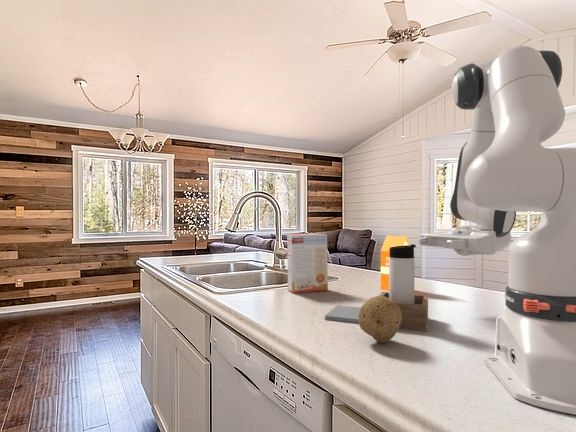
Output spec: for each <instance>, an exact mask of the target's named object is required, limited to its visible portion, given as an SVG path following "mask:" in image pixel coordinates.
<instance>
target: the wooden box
mask: <svg viewBox="0 0 576 432" xmlns="http://www.w3.org/2000/svg"><path fill="white" fill-rule="evenodd" d="M378 296H384V297H388V298H389V291H387V292H385V291H381V293H380V294H379V295H378ZM395 303H396V304H397V305H398V306H399V308H400V310H401V314H402V322H401V325H400V327H399V329H403V330H410V331H411V330H413V331H421V332H427V329H428V328H427V327H428V322H429V295H426V294H425V295H423V294H422V295H421V294H414V304H409V303H398V302H395Z"/></svg>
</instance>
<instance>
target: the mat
mask: <svg viewBox="0 0 576 432" xmlns="http://www.w3.org/2000/svg"><path fill="white" fill-rule="evenodd" d="M360 309H361V307H359V306H358V307H356V306H349V305H348V306H347V305H335V306H334V307H333V308H332V309H331V310H329V312H327V313H326V314H325V315H324V320H327V321H335V322H336V321H337V322H345V323H351V324H359V312H360Z"/></svg>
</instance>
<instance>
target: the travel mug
mask: <svg viewBox="0 0 576 432" xmlns="http://www.w3.org/2000/svg"><path fill="white" fill-rule="evenodd" d="M416 247H417V246H416V244H415V243H412V244H410V245H404V246H395V247H390V249H389V253H390V254H389V290H388V293H389V298H390V299H392V300H393V301H394V302H398V303H409V304H414V295H415V248H416Z"/></svg>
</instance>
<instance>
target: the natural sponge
mask: <svg viewBox="0 0 576 432" xmlns="http://www.w3.org/2000/svg"><path fill="white" fill-rule="evenodd" d="M360 308H361V309H360V312H359V323H358V324H359V327H360V329H361V330H362V331H363V332H364V333H365V334H367V335H369V336H370V337H372V339H373V340H375V341H376V342H379V343H382V344H384V343H387V342H389V341H391V340H392V339H393V338H394V337H395V335H396V334H397V332H398V331H399V329H400V328H399V327H400V325H401V322H402V314H401V310H400V308H399V306H398V305H397V304H396V303H395V302H394V301H393V300H392V299H390V298H388V297H384V296H379V295H375V296H373V297H371V298H368V299H367V300H366V301H365V302H364V303H363V304H362V306H360Z"/></svg>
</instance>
